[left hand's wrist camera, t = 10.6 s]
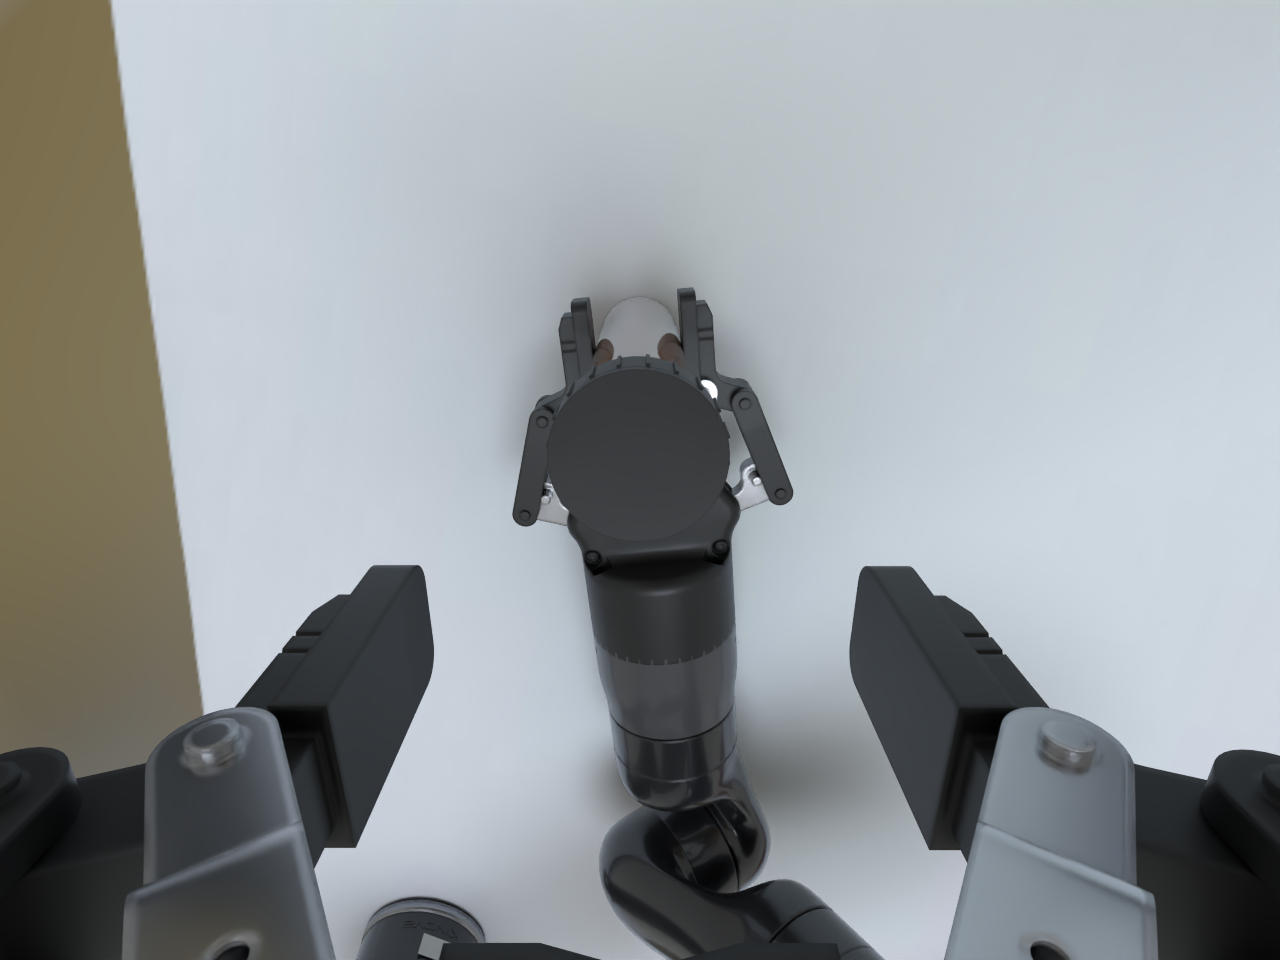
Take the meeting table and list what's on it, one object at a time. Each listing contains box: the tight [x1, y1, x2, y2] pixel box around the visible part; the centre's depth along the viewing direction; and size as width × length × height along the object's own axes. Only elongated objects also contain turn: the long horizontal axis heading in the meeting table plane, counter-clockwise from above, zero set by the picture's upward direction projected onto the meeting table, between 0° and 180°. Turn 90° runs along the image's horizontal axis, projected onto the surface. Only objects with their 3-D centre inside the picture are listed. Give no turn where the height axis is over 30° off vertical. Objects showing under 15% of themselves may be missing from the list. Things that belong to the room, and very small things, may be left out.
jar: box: [589, 297, 689, 372], centre depth 28 cm, size 4×4×19 cm
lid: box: [546, 354, 730, 542], centre depth 20 cm, size 5×5×2 cm
